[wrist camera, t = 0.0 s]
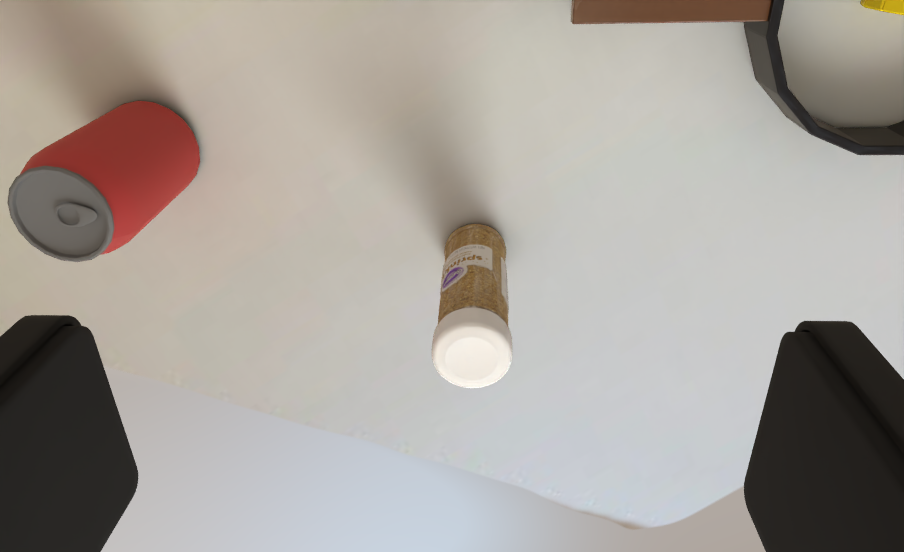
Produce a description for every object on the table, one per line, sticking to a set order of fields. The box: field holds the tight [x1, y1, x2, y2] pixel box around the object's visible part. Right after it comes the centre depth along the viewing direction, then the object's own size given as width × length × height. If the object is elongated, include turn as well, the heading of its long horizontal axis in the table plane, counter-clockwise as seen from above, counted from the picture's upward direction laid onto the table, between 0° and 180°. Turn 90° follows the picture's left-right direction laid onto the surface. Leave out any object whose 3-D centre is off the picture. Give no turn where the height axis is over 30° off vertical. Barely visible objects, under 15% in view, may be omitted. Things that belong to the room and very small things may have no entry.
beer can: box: [8, 101, 200, 262], centre depth 41 cm, size 7×7×12 cm
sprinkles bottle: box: [432, 224, 512, 388], centre depth 43 cm, size 5×5×13 cm
